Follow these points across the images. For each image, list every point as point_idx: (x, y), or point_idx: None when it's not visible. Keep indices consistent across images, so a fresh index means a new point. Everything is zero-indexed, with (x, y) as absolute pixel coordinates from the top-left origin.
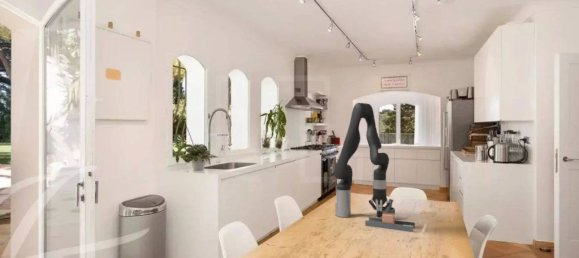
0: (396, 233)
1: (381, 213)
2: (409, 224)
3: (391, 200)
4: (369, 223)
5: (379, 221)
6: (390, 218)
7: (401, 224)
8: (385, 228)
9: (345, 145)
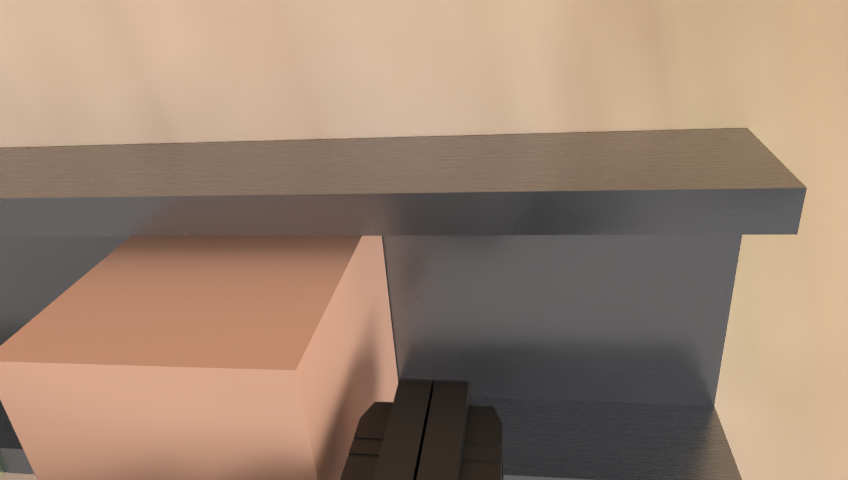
0: (40, 22)
1: (350, 473)
2: None
3: None
4: (662, 167)
5: None
6: (94, 317)
7: None
8: (287, 149)
9: None
